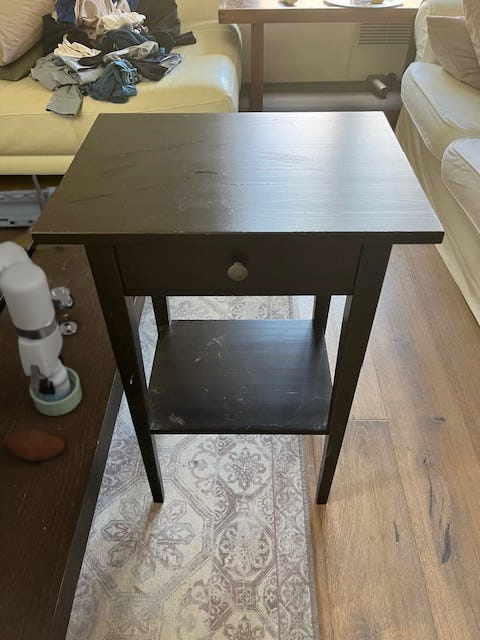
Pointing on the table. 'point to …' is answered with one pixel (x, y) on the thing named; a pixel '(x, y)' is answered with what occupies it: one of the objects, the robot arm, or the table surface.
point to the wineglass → (64, 307)
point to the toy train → (21, 206)
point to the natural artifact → (40, 197)
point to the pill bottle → (58, 383)
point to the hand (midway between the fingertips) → (52, 379)
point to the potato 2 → (34, 445)
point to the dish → (62, 405)
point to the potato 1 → (22, 240)
